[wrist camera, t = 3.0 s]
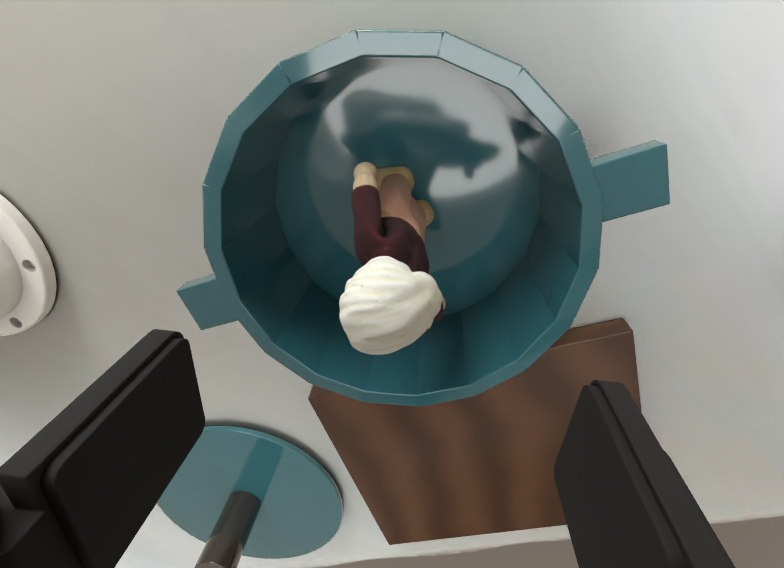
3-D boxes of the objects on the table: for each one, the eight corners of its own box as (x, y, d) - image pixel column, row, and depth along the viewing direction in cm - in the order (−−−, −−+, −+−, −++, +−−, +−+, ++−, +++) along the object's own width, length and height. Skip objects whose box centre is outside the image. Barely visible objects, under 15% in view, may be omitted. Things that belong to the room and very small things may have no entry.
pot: (619, 280, 25) (685, 356, 18) (297, 356, 30) (259, 438, 23) (582, -40, 18) (668, -104, 12) (174, 127, 23) (70, 150, 17)
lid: (371, 537, 39) (360, 625, 33) (216, 555, 43) (180, 637, 37) (294, 402, 32) (260, 482, 26) (116, 439, 36) (49, 517, 30)
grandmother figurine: (335, 178, 23) (243, 279, 12) (387, 132, 22) (338, 198, 11) (419, 275, 25) (408, 436, 14) (471, 239, 24) (503, 387, 13)
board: (390, 528, 38) (389, 545, 37) (313, 384, 31) (307, 398, 30) (643, 497, 34) (652, 515, 32) (623, 317, 26) (633, 330, 25)
